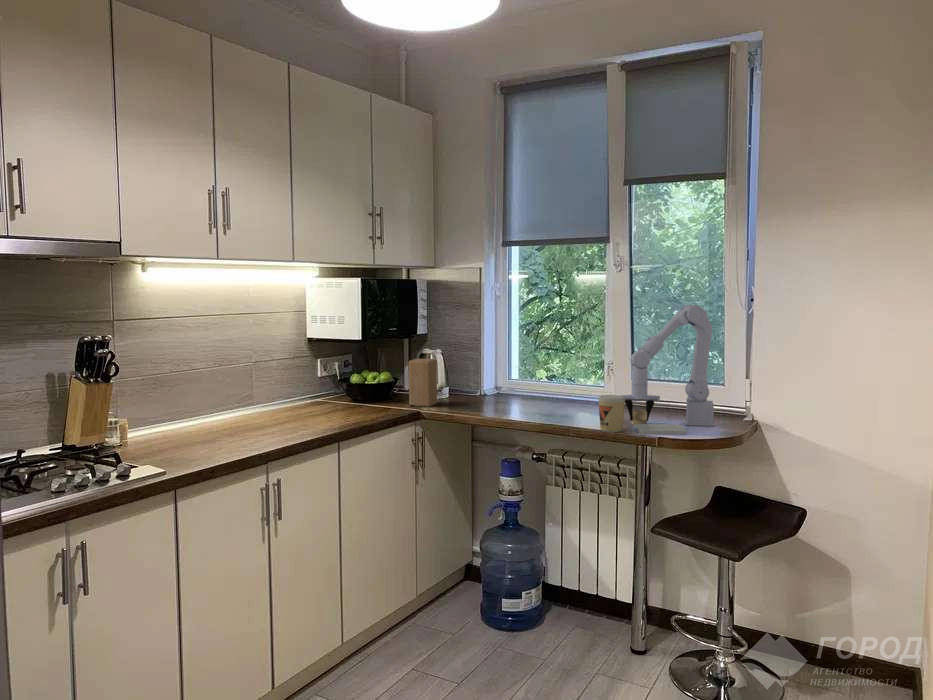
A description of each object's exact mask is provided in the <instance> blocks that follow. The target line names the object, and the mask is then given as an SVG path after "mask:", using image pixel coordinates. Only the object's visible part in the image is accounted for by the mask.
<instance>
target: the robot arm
mask: <svg viewBox="0 0 933 700" xmlns="http://www.w3.org/2000/svg"><path fill="white" fill-rule="evenodd" d="M685 325H691V326H692V328H694V330H695V331H696V337H695V346H694V353H693V361H692V369H691V373H690V375H689V377H688V382H687V384H686V385H685V389H684V390H685V393H686V395H687V397H686V415H685V416H686V418H685V420H683V423H684V424H685V425H686V426H691V427H692V426H698V427H699V426H700V427H701V426H702V427H705V426H706V427H707V426H708V427H714V426H715V425H714V414H715V413H714V411H715V410H714V408H715V406H714V405H715V404H714V401H713V400H708V397H709V396H710V389H709V380H708V378H707V377H708V376H707V372H708V364H709V357H710V351H711V350H710V348H711V342H712V335H713V326H712V323H711V321H710V318H709V317H708V312H707V311H706V310H705V309H704V308H703V307H702V306H700V305H698V304H693V305H692V304H686V305H684V306H683V307H682V308H681V309H679V310H678V311H677V312H676V313H675V314H674V316H673V317H672V318H671V319H670V320H669V321H668V322H667V323H666V324H665V326H664V327H663V328H662V329H661V330H660V331H659V332H658V334H656V335H650V337H649V336H648V337H646V339H645V340H646V341H645V342H644V343H643V344H642V345H641V346H640V347H638V348H637V351H635V352H633V354H631V356H630V359H629V360H630V363H631V394H624V395H621V394H619V396H624V398H625V407H626V408H627V410H628V414H629V415H628V416H629V421H630V422H631V421H633V415H632V410H633V407H634V404H633V402H645V410H646V412H647V422H649V418H650V415H651V411H652V409H653V408H654V405H655V402H656V403H657V402H659V403H660V402H661V401H660V400H661V397H660V395H651V394H649V395H648V386H649V385H648V382H649V381H648V377H649V375H648V373H649V372H648V366H649V365H650V363H651V359H653V358H654V357H655V356H656V355H657V354H658V353H659V352H660V350H662V349H663V347H664V343H665V341H666V340H667V338H669V337H670V336H671V335H672V334H673V333H674V332H675V331H676V330H677V329H678V328H679V327H682V326H685Z"/></svg>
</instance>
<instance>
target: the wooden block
mask: <svg viewBox="0 0 933 700" xmlns="http://www.w3.org/2000/svg"><path fill="white" fill-rule="evenodd" d="M437 363H438V361H437V359H436V358H415V359H411V360H409V361H408V395H409V396H408V401H409V402H408V403H409V406H410V405H415V406H414V407H418V406H428V407H427V408H430V407H432V406H434V405H436V404H438V366H437V365H438V364H437ZM429 406H430V407H429Z"/></svg>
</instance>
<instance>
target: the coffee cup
mask: <svg viewBox="0 0 933 700" xmlns="http://www.w3.org/2000/svg"><path fill="white" fill-rule="evenodd" d="M619 395H620V394H619ZM619 395H617V394H603V395H599V396H598V397H599V398H597V399H598V411H599V428H600V431H601V430H602V432H605V433H620V431H621V432H622V431H623V428H624V427H623V426H624V415H625V406H626V403H625V398H624V396H619Z"/></svg>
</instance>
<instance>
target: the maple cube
mask: <svg viewBox="0 0 933 700" xmlns="http://www.w3.org/2000/svg"><path fill="white" fill-rule="evenodd" d="M632 415H633V421H630V423H631V425H632V424H633V425H632V426H635V424H648V421H647V412H646V409H632Z"/></svg>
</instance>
